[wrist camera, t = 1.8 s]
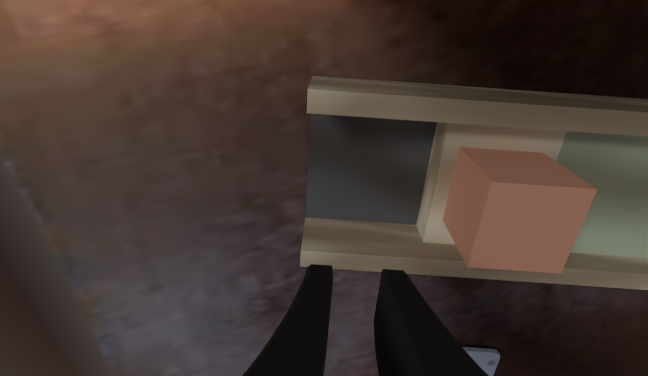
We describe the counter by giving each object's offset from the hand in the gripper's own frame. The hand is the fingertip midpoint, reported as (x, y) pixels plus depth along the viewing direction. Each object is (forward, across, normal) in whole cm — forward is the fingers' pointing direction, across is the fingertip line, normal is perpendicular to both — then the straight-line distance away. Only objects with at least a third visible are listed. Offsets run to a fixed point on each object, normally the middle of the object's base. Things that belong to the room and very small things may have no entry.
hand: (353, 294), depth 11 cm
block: (+8, -7, 0) cm, 11 cm away
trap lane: (+10, -11, 0) cm, 15 cm away
